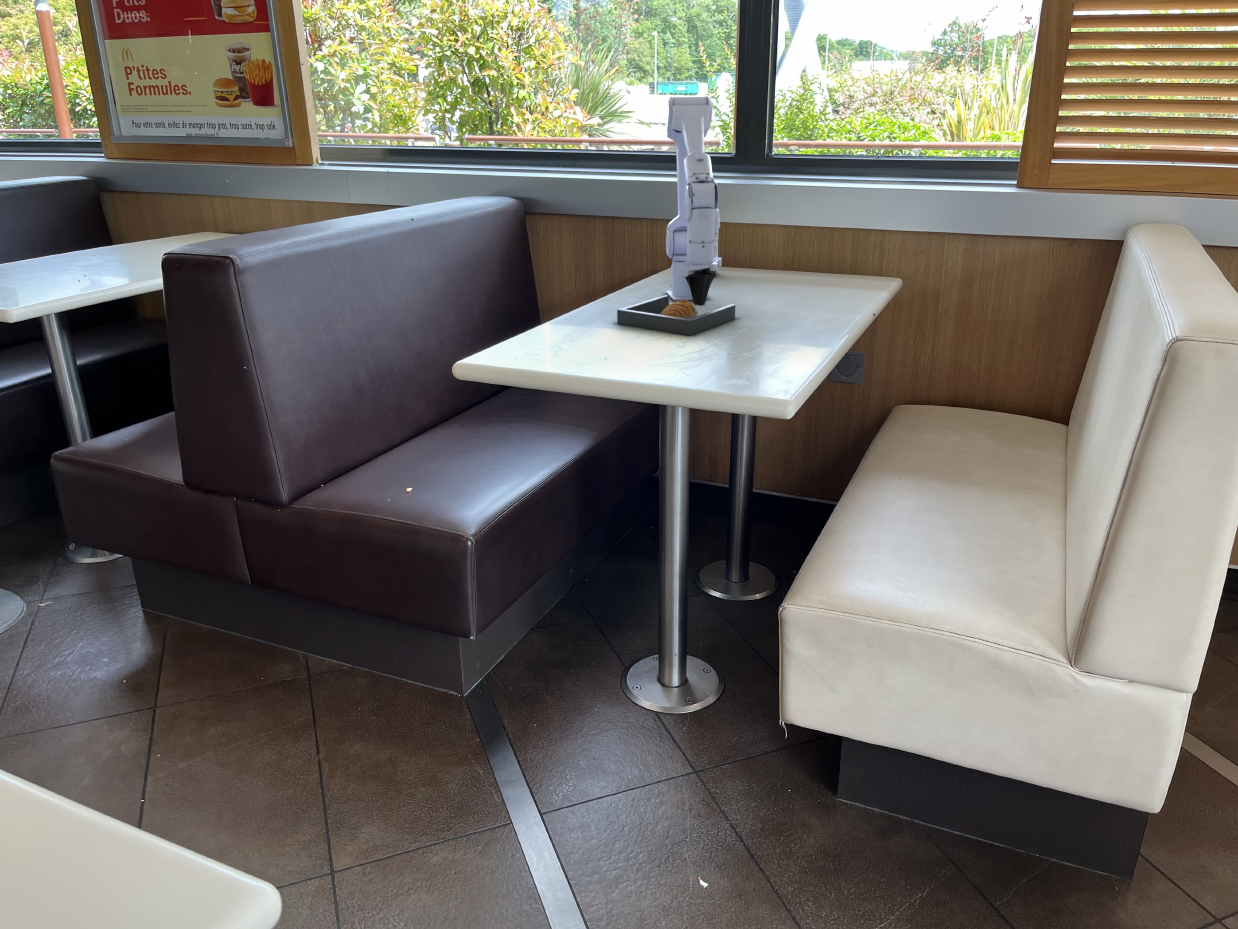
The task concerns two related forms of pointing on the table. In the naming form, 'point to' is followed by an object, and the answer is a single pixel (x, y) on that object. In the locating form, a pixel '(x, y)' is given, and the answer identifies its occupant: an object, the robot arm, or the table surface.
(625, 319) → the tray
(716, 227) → the bottle
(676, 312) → the pastry
